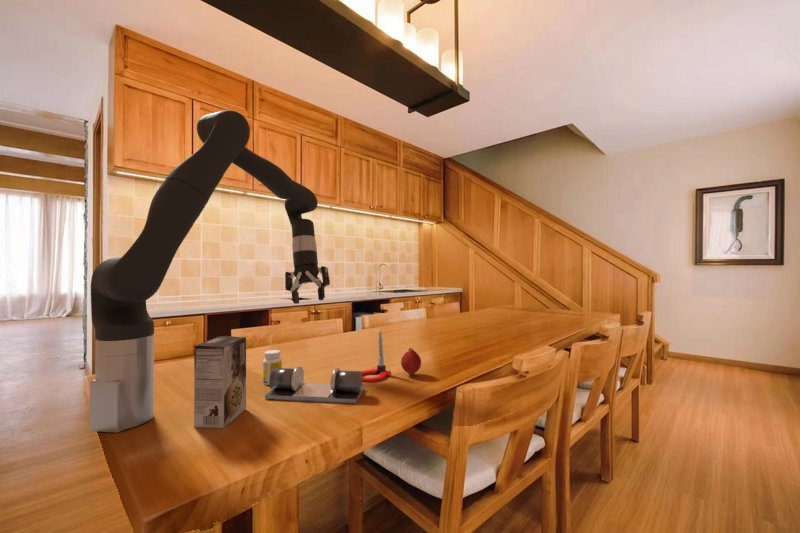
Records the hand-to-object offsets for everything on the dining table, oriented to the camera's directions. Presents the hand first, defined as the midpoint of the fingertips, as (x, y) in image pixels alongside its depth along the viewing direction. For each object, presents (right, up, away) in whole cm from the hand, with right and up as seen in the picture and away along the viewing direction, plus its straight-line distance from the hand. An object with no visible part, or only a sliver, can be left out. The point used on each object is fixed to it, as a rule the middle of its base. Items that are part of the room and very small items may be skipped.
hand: (308, 301), depth 107 cm
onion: (+32, -21, -8) cm, 39 cm away
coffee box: (-8, -21, -37) cm, 43 cm away
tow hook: (+21, -21, -10) cm, 31 cm away
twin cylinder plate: (+8, -20, -23) cm, 32 cm away
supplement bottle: (-6, -21, -15) cm, 26 cm away
